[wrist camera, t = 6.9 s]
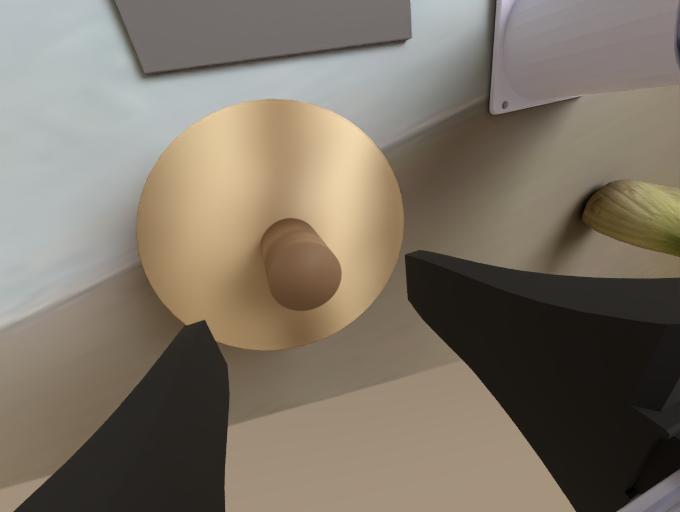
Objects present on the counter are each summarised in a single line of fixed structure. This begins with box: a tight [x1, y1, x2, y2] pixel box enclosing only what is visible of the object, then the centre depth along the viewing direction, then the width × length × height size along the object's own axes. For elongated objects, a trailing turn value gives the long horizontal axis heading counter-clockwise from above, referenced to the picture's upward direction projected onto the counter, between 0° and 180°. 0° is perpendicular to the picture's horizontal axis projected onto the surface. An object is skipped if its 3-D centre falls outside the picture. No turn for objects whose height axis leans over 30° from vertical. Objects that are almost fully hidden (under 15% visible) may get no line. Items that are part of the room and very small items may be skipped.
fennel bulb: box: [582, 180, 680, 257], centre depth 22 cm, size 6×5×12 cm
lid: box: [136, 99, 404, 350], centre depth 13 cm, size 13×13×4 cm
